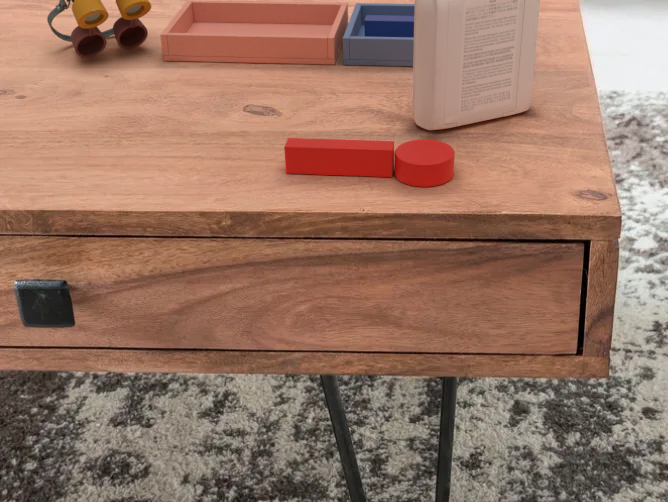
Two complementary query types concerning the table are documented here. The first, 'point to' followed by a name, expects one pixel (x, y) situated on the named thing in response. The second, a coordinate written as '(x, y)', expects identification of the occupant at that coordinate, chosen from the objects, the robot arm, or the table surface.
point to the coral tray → (256, 32)
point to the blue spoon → (389, 26)
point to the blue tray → (377, 38)
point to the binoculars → (93, 14)
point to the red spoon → (372, 159)
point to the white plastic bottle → (472, 60)
